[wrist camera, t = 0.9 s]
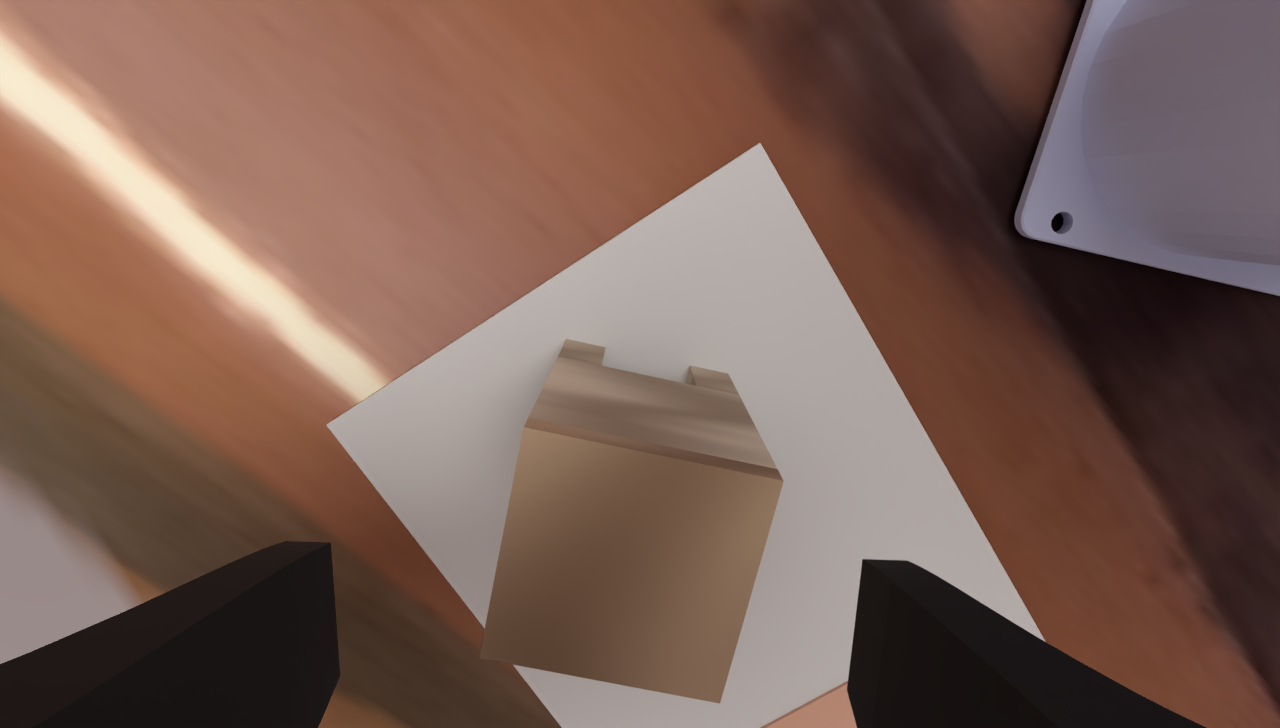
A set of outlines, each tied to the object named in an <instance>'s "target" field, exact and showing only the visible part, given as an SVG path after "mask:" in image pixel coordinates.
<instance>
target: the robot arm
mask: <svg viewBox="0 0 1280 728" xmlns="http://www.w3.org/2000/svg"><path fill="white" fill-rule="evenodd" d="M1058 213H1060V214H1061V215H1062V217H1063V219H1064V220H1063V225H1062V227H1061V229H1060V230H1058V231H1057V232H1054V231H1053V229H1052V227H1051V221H1052V219H1053V217H1054V216H1055V215H1056V214H1058ZM1014 223H1015V227H1016V229H1017V231H1018V232H1019V233H1020V234H1021V235H1022V236H1025V237H1027V238H1030V239H1034V240H1039V241H1043V242H1047V243H1052V244H1056V245H1060V246H1065V247H1069V248H1073V249H1078V250H1082V251H1086V252H1090V253H1095V254H1099V255H1103V256H1108V257H1112V258H1116V259H1121V260H1125V261H1129V262H1134V263H1138V264H1142V265H1147V266H1151V267H1155V268H1160V269H1164V270H1168V271H1173V272H1177V273H1181V274H1186V275H1190V276H1194V277H1199V278H1203V279H1207V280H1212V281H1216V282H1220V283H1225V284H1229V285H1233V286H1238V287H1242V288H1246V289H1251V290H1255V291H1259V292H1263V293H1268V294H1272V295H1276V296H1280V0H1087V1H1086V4H1085V7H1084V10H1083V13H1082V16H1081V19H1080V22H1079V25H1078V28H1077V31H1076V34H1075V37H1074V40H1073V43H1072V46H1071V48H1070V51H1069V54H1068V57H1067V60H1066V63H1065V66H1064V69H1063V72H1062V75H1061V78H1060V81H1059V84H1058V87H1057V90H1056V93H1055V96H1054V99H1053V102H1052V105H1051V108H1050V111H1049V114H1048V117H1047V120H1046V123H1045V126H1044V129H1043V132H1042V135H1041V138H1040V141H1039V144H1038V147H1037V150H1036V153H1035V156H1034V159H1033V162H1032V165H1031V168H1030V171H1029V174H1028V177H1027V180H1026V183H1025V186H1024V189H1023V192H1022V195H1021V198H1020V201H1019V204H1018V207H1017V210H1016V213H1015V219H1014ZM339 677H340V668H339V654H338V640H337V626H336V612H335V597H334V583H333V569H332V555H331V543H323V542H290V541H285V542H282V543H279V544H276V545H273V546H270V547H267V548H264V549H262V550H259V551H257V552H255V553H252V554H250V555H247V556H245V557H243V558H241V559H238V560H236V561H234V562H232V563H229V564H227V565H225V566H223V567H220V568H218V569H216V570H214V571H212V572H210V573H207V574H205V575H203V576H201V577H199V578H197V579H194V580H192V581H190V582H188V583H186V584H184V585H182V586H179V587H177V588H175V589H173V590H171V591H169V592H166V593H164V594H162V595H160V596H158V597H156V598H153V599H151V600H149V601H147V602H145V603H143V604H140V605H138V606H136V607H134V608H132V609H129V610H127V611H125V612H123V613H120V614H118V615H116V616H113V617H111V618H109V619H106V620H104V621H102V622H100V623H97V624H95V625H93V626H90V627H88V628H86V629H83V630H81V631H79V632H76V633H74V634H72V635H69V636H67V637H65V638H62V639H60V640H58V641H56V642H53V643H51V644H48V645H46V646H44V647H41V648H39V649H37V650H34V651H32V652H30V653H27V654H25V655H22V656H20V657H17V658H15V659H12V660H10V661H7V662H5V663H2V664H0V728H318V726H319V724H320V722H321V719H322V717H323V715H324V713H325V710H326V708H327V706H328V703H329V701H330V698H331V696H332V694H333V691H334V689H335V687H336V684H337V682H338V679H339ZM847 692H848V696H849V700H850V703H851V707H852V711H853V715H854V718H855V722H856V726H857V728H1206V727H1204V726H1202V725H1199V724H1197V723H1195V722H1193V721H1191V720H1189V719H1187V718H1185V717H1183V716H1181V715H1179V714H1176V713H1174V712H1172V711H1170V710H1168V709H1166V708H1164V707H1162V706H1160V705H1159V704H1157V703H1155V702H1153V701H1151V700H1149V699H1147V698H1145V697H1143V696H1141V695H1139V694H1137V693H1135V692H1133V691H1132V690H1130V689H1128V688H1126V687H1124V686H1123V685H1121V684H1119V683H1117V682H1115V681H1113V680H1112V679H1110V678H1108V677H1106V676H1104V675H1103V674H1101V673H1099V672H1097V671H1095V670H1093V669H1092V668H1090V667H1088V666H1086V665H1084V664H1083V663H1081V662H1079V661H1077V660H1075V659H1074V658H1072V657H1070V656H1069V655H1067V654H1065V653H1063V652H1062V651H1060V650H1058V649H1057V648H1055V647H1053V646H1051V645H1050V644H1048V643H1046V642H1045V641H1043V640H1041V639H1040V638H1038V637H1036V636H1035V635H1033V634H1031V633H1030V632H1028V631H1026V630H1025V629H1023V628H1021V627H1020V626H1018V625H1016V624H1015V623H1013V622H1012V621H1010V620H1008V619H1007V618H1005V617H1003V616H1002V615H1000V614H999V613H997V612H995V611H994V610H992V609H990V608H989V607H987V606H986V605H984V604H982V603H981V602H979V601H977V600H976V599H974V598H973V597H971V596H969V595H968V594H966V593H965V592H963V591H961V590H960V589H958V588H956V587H955V586H953V585H951V584H950V583H948V582H946V581H945V580H943V579H941V578H940V577H938V576H936V575H935V574H933V573H931V572H929V571H928V570H926V569H924V568H922V567H920V566H918V565H916V564H914V563H912V562H910V561H907V560H875V559H862V568H861V576H860V584H859V593H858V601H857V610H856V618H855V626H854V635H853V643H852V651H851V660H850V668H849V677H848V685H847Z"/></svg>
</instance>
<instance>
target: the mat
mask: <svg viewBox="0 0 1280 728" xmlns="http://www.w3.org/2000/svg"><path fill="white" fill-rule="evenodd" d="M566 339H569V340H574V341H579V342H583V343H588V344H593V345H597V346H602V347H605V352H604V356H603V361H602V366H605V367H610V368H615V369H619V370H624V371H629V372H634V373H638V374H643V375H648V376H652V377H657V378H662V379H666V380H671V381H676V382H680V383H685V384H686V380H687V376H688V372H689V368H690V366H695V367H700V368H704V369H709V370H714V371H718V372H723V373H728V374H729V376H730V378H731V380H732V382H733V384H734V386H735V388H736V390H737V392H738V393H739V395H740V397H741V399H742V401H743V403H744V405H745V407H746V409H747V411H748V413H749V415H750V417H751V419H752V421H753V422H754V424H755V426H756V428H757V430H758V432H759V434H760V436H761V438H762V440H763V442H764V444H765V446H766V448H767V450H768V451H769V453H770V455H771V457H772V459H773V461H774V463H775V465H776V467H777V469H778V471H779V473H780V475H781V477H782V479H783V480H784V482H783V485H782V489H781V492H780V496H779V499H778V503H777V506H776V510H775V513H774V517H773V520H772V524H771V527H770V531H769V534H768V538H767V541H766V545H765V548H764V552H763V555H762V559H761V562H760V566H759V569H758V573H757V576H756V580H755V583H754V587H753V590H752V594H751V597H750V601H749V604H748V608H747V611H746V615H745V618H744V622H743V625H742V629H741V632H740V636H739V639H738V643H737V646H736V650H735V653H734V657H733V660H732V664H731V667H730V671H729V674H728V678H727V681H726V685H725V688H724V692H723V695H722V698H721V702H720V704H719V703H714V702H709V701H703V700H698V699H693V698H687V697H682V696H677V695H671V694H666V693H661V692H656V691H650V690H645V689H640V688H634V687H629V686H624V685H618V684H613V683H608V682H602V681H597V680H592V679H587V678H581V677H576V676H571V675H565V674H560V673H555V672H549V671H544V670H539V669H534V668H528V667H523V666H518V665H513V666H514V667H515V668H516V669H517V671H518V672H519V673H520V675H521V676H522V677H523V678H524V680H525V681H526V682H527V684H528V685H529V686H530V687H531V689H532V690H533V691H534V693H535V694H536V695H537V696H538V698H539V699H540V700H541V702H542V703H543V704H544V705H545V707H546V708H547V709H548V711H549V712H550V713H551V714H552V716H553V717H554V718H555V720H556V721H557V722H558V723H559V725H560V726H561V727H562V728H857V726H856V722H855V718H854V715H853V711H852V707H851V703H850V700H849V696H848V692H847V685H848V677H849V668H850V660H851V651H852V643H853V635H854V626H855V618H856V610H857V601H858V593H859V584H860V576H861V568H862V559H875V560H907V561H910V562H912V563H914V564H916V565H918V566H920V567H922V568H924V569H926V570H928V571H929V572H931V573H933V574H935V575H936V576H938V577H940V578H941V579H943V580H945V581H946V582H948V583H950V584H951V585H953V586H955V587H956V588H958V589H960V590H961V591H963V592H965V593H966V594H968V595H969V596H971V597H973V598H974V599H976V600H977V601H979V602H981V603H982V604H984V605H986V606H987V607H989V608H990V609H992V610H994V611H995V612H997V613H999V614H1000V615H1002V616H1003V617H1005V618H1007V619H1008V620H1010V621H1012V622H1013V623H1015V624H1016V625H1018V626H1020V627H1021V628H1023V629H1025V630H1026V631H1028V632H1030V633H1031V634H1033V635H1035V636H1036V637H1038V638H1040V639H1041V640H1043V641H1045V640H1044V638H1043V636H1042V635H1041V633H1040V631H1039V629H1038V628H1037V626H1036V624H1035V622H1034V621H1033V619H1032V617H1031V615H1030V614H1029V612H1028V610H1027V608H1026V607H1025V605H1024V603H1023V601H1022V600H1021V598H1020V596H1019V594H1018V593H1017V591H1016V589H1015V587H1014V586H1013V584H1012V582H1011V580H1010V579H1009V577H1008V575H1007V573H1006V572H1005V570H1004V568H1003V566H1002V565H1001V563H1000V561H999V559H998V558H997V556H996V554H995V552H994V551H993V549H992V547H991V545H990V544H989V542H988V540H987V538H986V537H985V535H984V533H983V531H982V530H981V528H980V526H979V524H978V523H977V521H976V519H975V517H974V516H973V514H972V512H971V510H970V509H969V507H968V505H967V503H966V502H965V500H964V498H963V496H962V495H961V493H960V491H959V489H958V488H957V486H956V484H955V482H954V481H953V479H952V477H951V475H950V474H949V472H948V470H947V468H946V467H945V465H944V463H943V461H942V460H941V458H940V456H939V455H938V453H937V451H936V449H935V448H934V446H933V444H932V442H931V441H930V439H929V437H928V435H927V434H926V432H925V430H924V428H923V427H922V425H921V423H920V421H919V420H918V418H917V416H916V414H915V413H914V411H913V409H912V407H911V406H910V404H909V402H908V400H907V399H906V397H905V395H904V393H903V392H902V390H901V388H900V386H899V385H898V383H897V381H896V379H895V378H894V376H893V374H892V372H891V371H890V369H889V367H888V365H887V364H886V362H885V360H884V358H883V357H882V355H881V353H880V351H879V350H878V348H877V346H876V344H875V343H874V341H873V339H872V337H871V336H870V334H869V332H868V330H867V329H866V327H865V325H864V323H863V322H862V320H861V318H860V316H859V315H858V313H857V311H856V309H855V308H854V306H853V304H852V302H851V301H850V299H849V297H848V295H847V294H846V292H845V290H844V288H843V287H842V285H841V283H840V281H839V280H838V278H837V276H836V274H835V273H834V271H833V269H832V267H831V266H830V264H829V262H828V260H827V259H826V257H825V255H824V253H823V252H822V250H821V248H820V246H819V245H818V243H817V241H816V240H815V238H814V236H813V234H812V233H811V231H810V229H809V227H808V226H807V224H806V222H805V220H804V219H803V217H802V215H801V213H800V212H799V210H798V208H797V206H796V205H795V203H794V201H793V199H792V198H791V196H790V194H789V192H788V191H787V189H786V187H785V185H784V184H783V182H782V180H781V178H780V177H779V175H778V173H777V171H776V170H775V168H774V166H773V164H772V163H771V161H770V159H769V157H768V156H767V154H766V152H765V150H764V149H763V147H762V145H761V143H759V144H757V145H755V146H754V147H752V148H751V149H749V150H747V151H746V152H744V153H743V154H741V155H740V156H738V157H737V158H735V159H734V160H732V161H731V162H729V163H728V164H726V165H724V166H723V167H721V168H720V169H718V170H717V171H715V172H714V173H712V174H711V175H709V176H708V177H706V178H704V179H703V180H701V181H700V182H698V183H697V184H695V185H694V186H692V187H691V188H689V189H688V190H686V191H684V192H683V193H681V194H680V195H678V196H677V197H675V198H674V199H672V200H671V201H669V202H668V203H666V204H664V205H663V206H661V207H660V208H658V209H657V210H655V211H654V212H652V213H651V214H649V215H648V216H646V217H644V218H643V219H641V220H640V221H638V222H637V223H635V224H634V225H632V226H631V227H629V228H628V229H626V230H624V231H623V232H621V233H620V234H618V235H617V236H615V237H614V238H612V239H611V240H609V241H608V242H606V243H604V244H603V245H601V246H600V247H598V248H597V249H595V250H594V251H592V252H591V253H589V254H588V255H586V256H584V257H583V258H581V259H580V260H578V261H577V262H575V263H574V264H572V265H571V266H569V267H568V268H566V269H564V270H563V271H561V272H560V273H558V274H557V275H555V276H554V277H552V278H551V279H549V280H548V281H546V282H545V283H543V284H541V285H540V286H538V287H537V288H535V289H534V290H532V291H531V292H529V293H528V294H526V295H525V296H523V297H521V298H520V299H518V300H517V301H515V302H514V303H512V304H511V305H509V306H508V307H506V308H505V309H503V310H501V311H500V312H498V313H497V314H495V315H494V316H492V317H491V318H489V319H488V320H486V321H485V322H483V323H481V324H480V325H478V326H477V327H475V328H474V329H472V330H471V331H469V332H468V333H466V334H465V335H463V336H461V337H460V338H458V339H457V340H455V341H454V342H452V343H451V344H449V345H448V346H446V347H445V348H443V349H441V350H440V351H438V352H437V353H435V354H434V355H432V356H431V357H429V358H428V359H426V360H425V361H423V362H421V363H420V364H418V365H417V366H415V367H414V368H412V369H411V370H409V371H408V372H406V373H405V374H403V375H401V376H400V377H398V378H397V379H395V380H394V381H392V382H391V383H389V384H388V385H386V386H385V387H383V388H382V389H380V390H378V391H377V392H375V393H374V394H372V395H371V396H369V397H368V398H366V399H365V400H363V401H362V402H360V403H358V404H357V405H355V406H354V407H352V408H351V409H349V410H348V411H346V412H345V413H343V414H342V415H340V416H338V417H337V418H335V419H334V420H332V421H331V422H330V423H328V424H327V427H328V428H329V429H330V430H331V432H332V433H333V434H334V436H335V437H336V438H337V439H338V441H339V442H340V443H341V445H342V446H343V447H344V448H345V450H346V451H347V452H348V454H349V455H350V456H351V457H352V459H353V460H354V461H355V463H356V464H357V465H358V466H359V468H360V469H361V470H362V472H363V473H364V474H365V475H366V477H367V478H368V479H369V481H370V482H371V483H372V484H373V486H374V487H375V488H376V490H377V491H378V492H379V493H380V495H381V496H382V497H383V499H384V500H385V501H386V502H387V504H388V505H389V506H390V508H391V509H392V510H393V511H394V513H395V514H396V515H397V517H398V518H399V519H400V520H401V522H402V523H403V524H404V526H405V527H406V528H407V529H408V531H409V532H410V533H411V535H412V536H413V537H414V538H415V540H416V541H417V542H418V544H419V545H420V546H421V547H422V549H423V550H424V551H425V553H426V554H427V555H428V556H429V558H430V559H431V560H432V562H433V563H434V564H435V565H436V567H437V568H438V569H439V571H440V572H441V573H442V574H443V576H444V577H445V578H446V580H447V581H448V582H449V583H450V585H451V586H452V587H453V589H454V590H455V591H456V592H457V594H458V595H459V596H460V598H461V599H462V600H463V601H464V603H465V604H466V605H467V607H468V608H469V609H470V610H471V612H472V613H473V614H474V616H475V617H476V618H477V619H478V621H479V622H480V623H481V625H482V626H483V627H484V628H485V624H486V619H487V614H488V609H489V604H490V598H491V593H492V588H493V583H494V578H495V572H496V567H497V562H498V557H499V552H500V547H501V541H502V536H503V531H504V526H505V521H506V515H507V510H508V505H509V500H510V495H511V489H512V484H513V479H514V474H515V469H516V464H517V458H518V453H519V448H520V443H521V438H522V432H523V427H524V425H525V423H526V421H527V419H528V417H529V415H530V413H531V411H532V409H533V407H534V405H535V402H536V400H537V398H538V396H539V394H540V392H541V390H542V388H543V386H544V384H545V382H546V380H547V378H548V376H549V374H550V372H551V370H552V368H553V366H554V363H555V361H556V359H557V357H558V355H559V353H560V351H561V349H562V347H563V345H564V343H565V341H566Z"/></svg>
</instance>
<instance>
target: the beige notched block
mask: <svg viewBox="0 0 1280 728" xmlns="http://www.w3.org/2000/svg"><path fill="white" fill-rule="evenodd" d="M604 352H605V347H602V346H597V345H593V344H588V343H583V342H579V341H574V340H569V339H566V341H565V343H564V345H563V347H562V349H561V351H560V353H559V355H558V357H557V359H556V361H555V363H554V366H553V368H552V370H551V372H550V374H549V376H548V378H547V380H546V382H545V384H544V386H543V388H542V390H541V392H540V394H539V396H538V398H537V400H536V402H535V405H534V407H533V409H532V411H531V413H530V415H529V417H528V419H527V421H526V423H525V425H524V427H523V432H522V438H521V443H520V448H519V453H518V458H517V464H516V469H515V474H514V479H513V484H512V489H511V495H510V500H509V505H508V510H507V515H506V521H505V526H504V531H503V536H502V541H501V547H500V552H499V557H498V562H497V567H496V572H495V578H494V583H493V588H492V593H491V598H490V604H489V609H488V614H487V619H486V624H485V630H484V635H483V640H482V645H481V650H480V656H479V658H480V659H486V660H491V661H496V662H502V663H507V664H512V665H518V666H523V667H528V668H534V669H539V670H544V671H549V672H555V673H560V674H565V675H571V676H576V677H581V678H587V679H592V680H597V681H602V682H608V683H613V684H618V685H624V686H629V687H634V688H640V689H645V690H650V691H656V692H661V693H666V694H671V695H677V696H682V697H687V698H693V699H698V700H703V701H709V702H714V703H719V704H720V702H721V698H722V695H723V692H724V688H725V685H726V681H727V678H728V674H729V671H730V667H731V664H732V660H733V657H734V653H735V650H736V646H737V643H738V639H739V636H740V632H741V629H742V625H743V622H744V618H745V615H746V611H747V608H748V604H749V601H750V597H751V594H752V590H753V587H754V583H755V580H756V576H757V573H758V569H759V566H760V562H761V559H762V555H763V552H764V548H765V545H766V541H767V538H768V534H769V531H770V527H771V524H772V520H773V517H774V513H775V510H776V506H777V503H778V499H779V496H780V492H781V489H782V485H783V482H784V480H783V479H782V477H781V475H780V473H779V471H778V469H777V467H776V465H775V463H774V461H773V459H772V457H771V455H770V453H769V451H768V450H767V448H766V446H765V444H764V442H763V440H762V438H761V436H760V434H759V432H758V430H757V428H756V426H755V424H754V422H753V421H752V419H751V417H750V415H749V413H748V411H747V409H746V407H745V405H744V403H743V401H742V399H741V397H740V395H739V393H738V392H737V390H736V388H735V386H734V384H733V382H732V380H731V378H730V376H729V374H728V373H723V372H718V371H714V370H709V369H704V368H700V367H695V366H690V368H689V372H688V376H687V380H686V384H685V383H680V382H676V381H671V380H666V379H662V378H657V377H652V376H648V375H643V374H638V373H634V372H629V371H624V370H619V369H615V368H610V367H605V366H602V361H603V356H604Z"/></svg>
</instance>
